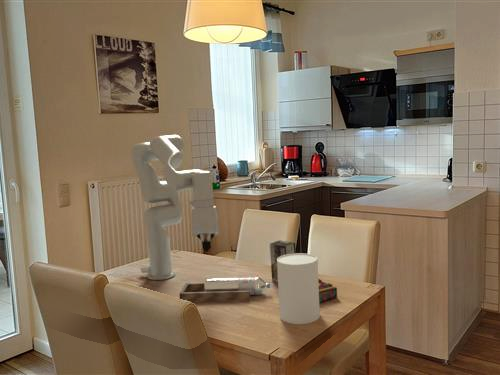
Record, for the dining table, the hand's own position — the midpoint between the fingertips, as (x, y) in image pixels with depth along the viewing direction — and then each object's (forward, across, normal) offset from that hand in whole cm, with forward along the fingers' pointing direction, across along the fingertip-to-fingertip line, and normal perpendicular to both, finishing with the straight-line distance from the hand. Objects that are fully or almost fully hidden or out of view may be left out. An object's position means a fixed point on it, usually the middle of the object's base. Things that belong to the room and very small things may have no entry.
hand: (207, 250), depth 190 cm
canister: (+18, +34, -22) cm, 44 cm away
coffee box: (+18, +29, +16) cm, 38 cm away
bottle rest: (+18, +3, 0) cm, 18 cm away
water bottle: (+15, -2, +1) cm, 15 cm away
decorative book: (+19, +40, -3) cm, 44 cm away
